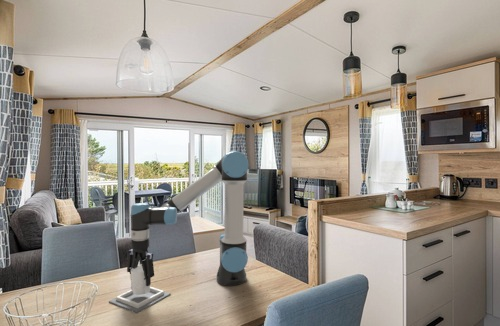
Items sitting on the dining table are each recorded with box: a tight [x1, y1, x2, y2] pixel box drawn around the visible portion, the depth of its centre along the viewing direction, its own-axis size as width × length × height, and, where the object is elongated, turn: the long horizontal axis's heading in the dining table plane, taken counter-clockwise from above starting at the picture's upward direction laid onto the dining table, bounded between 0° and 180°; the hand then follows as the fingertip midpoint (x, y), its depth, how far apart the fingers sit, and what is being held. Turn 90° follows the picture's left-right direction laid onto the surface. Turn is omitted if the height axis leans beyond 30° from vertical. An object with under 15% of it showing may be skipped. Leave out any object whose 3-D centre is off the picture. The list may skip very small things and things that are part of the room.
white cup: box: [130, 264, 145, 295], centre depth 123 cm, size 8×8×10 cm
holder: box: [108, 286, 172, 314], centre depth 123 cm, size 18×18×2 cm
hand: (140, 290), depth 123 cm, fingers closed on white cup, 7 cm apart
